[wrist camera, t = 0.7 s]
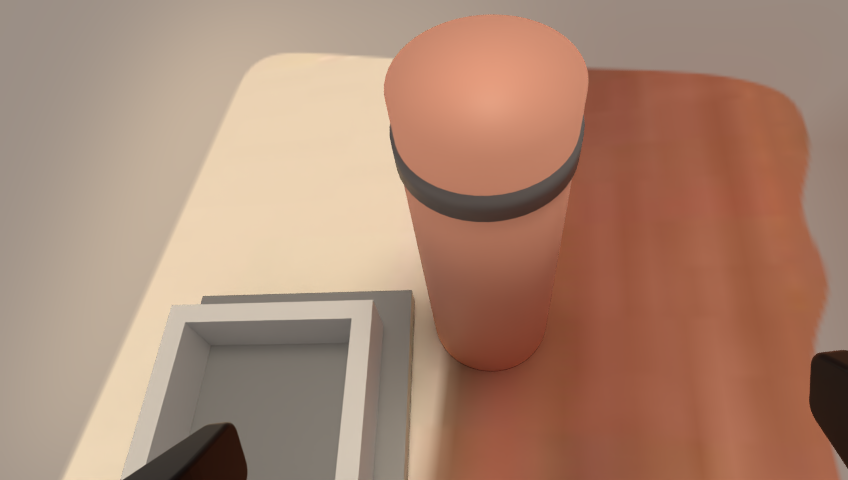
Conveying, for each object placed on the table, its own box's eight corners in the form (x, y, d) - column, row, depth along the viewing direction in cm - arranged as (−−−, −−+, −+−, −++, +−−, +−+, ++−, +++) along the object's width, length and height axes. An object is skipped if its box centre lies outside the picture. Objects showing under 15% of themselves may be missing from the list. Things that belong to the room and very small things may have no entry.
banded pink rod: (554, 372, 24) (607, 152, 12) (432, 374, 24) (372, 164, 13) (542, 266, 27) (578, 4, 15) (434, 270, 27) (386, 20, 16)
